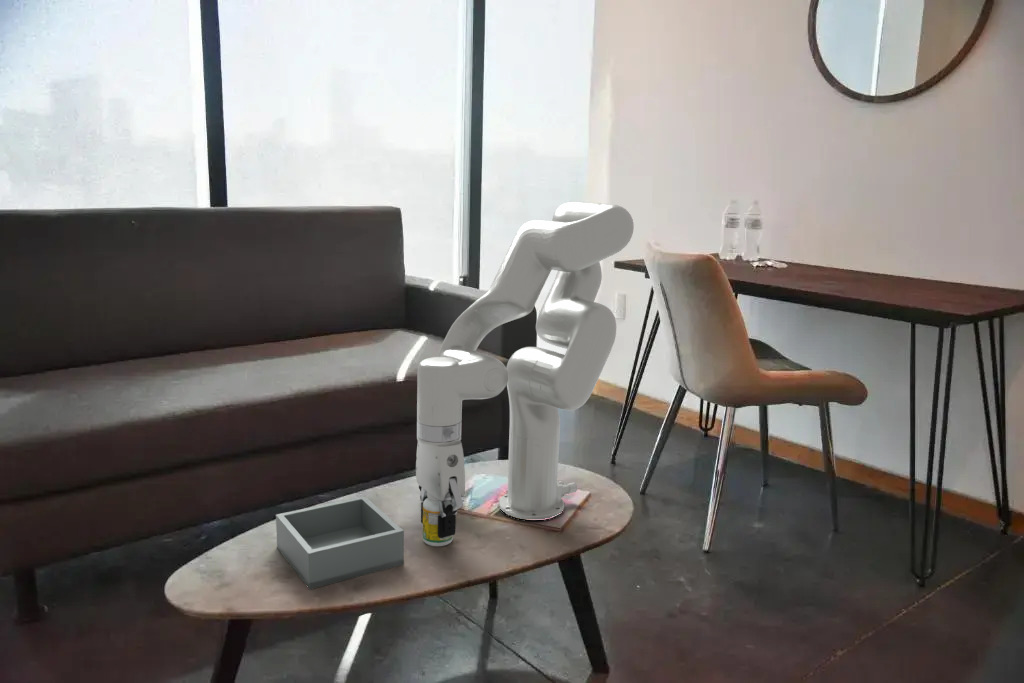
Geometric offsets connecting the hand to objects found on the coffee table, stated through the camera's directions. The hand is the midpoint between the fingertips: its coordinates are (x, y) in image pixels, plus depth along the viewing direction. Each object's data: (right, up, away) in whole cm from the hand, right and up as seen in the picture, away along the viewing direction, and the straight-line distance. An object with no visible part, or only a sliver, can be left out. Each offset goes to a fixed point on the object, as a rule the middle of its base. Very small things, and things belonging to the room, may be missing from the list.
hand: (437, 527), depth 142 cm
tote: (-16, -3, -6) cm, 17 cm away
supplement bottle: (0, -2, +1) cm, 2 cm away
